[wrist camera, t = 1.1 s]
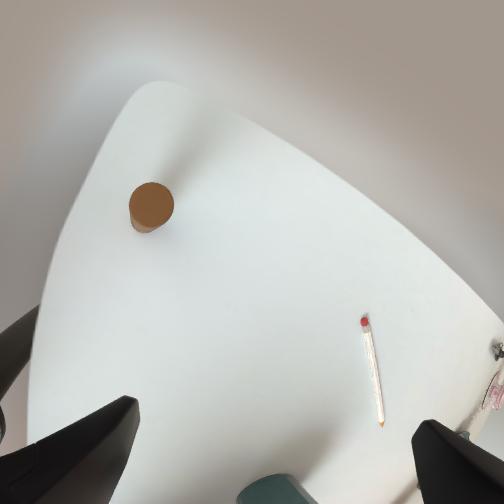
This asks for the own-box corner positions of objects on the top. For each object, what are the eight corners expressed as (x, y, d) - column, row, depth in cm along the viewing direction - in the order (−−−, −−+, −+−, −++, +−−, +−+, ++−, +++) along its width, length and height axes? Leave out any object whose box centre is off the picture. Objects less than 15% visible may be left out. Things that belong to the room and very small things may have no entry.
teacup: (493, 372, 54) (509, 376, 48) (500, 373, 59) (514, 377, 53) (478, 410, 53) (493, 415, 47) (486, 407, 57) (500, 412, 52)
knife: (492, 357, 46) (498, 337, 46) (486, 355, 48) (492, 335, 48) (502, 363, 53) (507, 347, 54) (497, 362, 55) (502, 345, 55)
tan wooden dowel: (127, 228, 19) (123, 220, 11) (135, 201, 19) (137, 176, 11) (154, 236, 19) (166, 233, 12) (162, 209, 20) (179, 189, 12)
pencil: (364, 316, 28) (368, 318, 27) (382, 424, 31) (386, 426, 31) (359, 320, 28) (363, 321, 27) (378, 428, 31) (382, 430, 30)
